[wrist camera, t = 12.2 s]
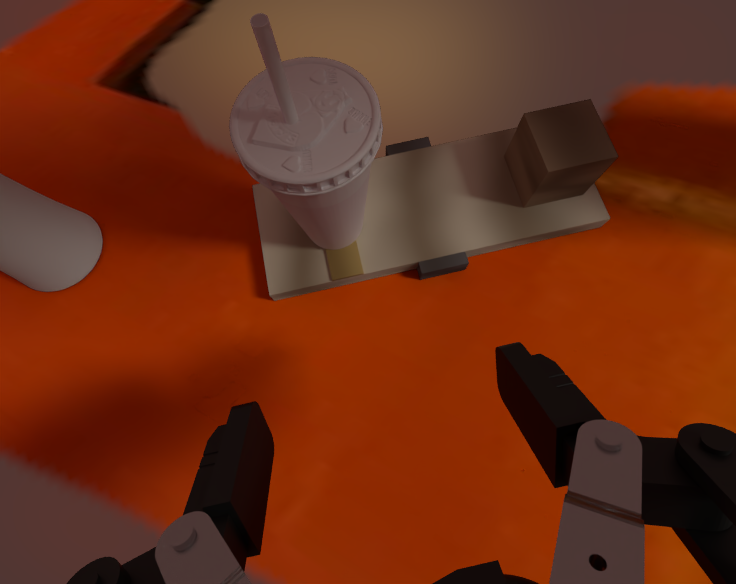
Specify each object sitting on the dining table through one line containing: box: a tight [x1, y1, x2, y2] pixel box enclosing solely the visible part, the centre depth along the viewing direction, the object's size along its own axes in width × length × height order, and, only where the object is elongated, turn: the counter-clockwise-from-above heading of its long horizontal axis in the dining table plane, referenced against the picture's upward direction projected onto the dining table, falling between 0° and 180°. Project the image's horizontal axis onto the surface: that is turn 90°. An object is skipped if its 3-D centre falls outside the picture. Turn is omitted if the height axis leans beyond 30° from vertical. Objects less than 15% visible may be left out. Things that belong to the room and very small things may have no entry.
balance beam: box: [252, 99, 618, 301], centre depth 24 cm, size 22×10×5 cm, turn 103°
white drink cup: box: [229, 13, 383, 250], centre depth 19 cm, size 6×6×14 cm
